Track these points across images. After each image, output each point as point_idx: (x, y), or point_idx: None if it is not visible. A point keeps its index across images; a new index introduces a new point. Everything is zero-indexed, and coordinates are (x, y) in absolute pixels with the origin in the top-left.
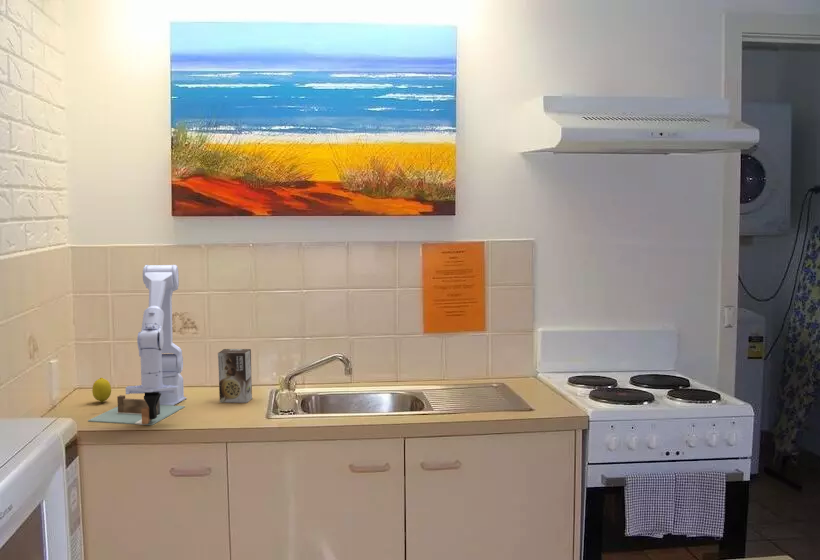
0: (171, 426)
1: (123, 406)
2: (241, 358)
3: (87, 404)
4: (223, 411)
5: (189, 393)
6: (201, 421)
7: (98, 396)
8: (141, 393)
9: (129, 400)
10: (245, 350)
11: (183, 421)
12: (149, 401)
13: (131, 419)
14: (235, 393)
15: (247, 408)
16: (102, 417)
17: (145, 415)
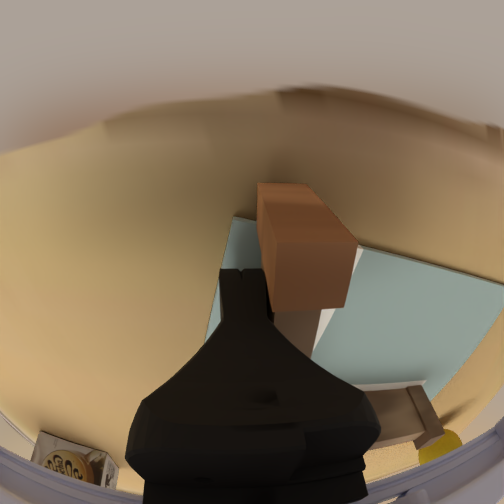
0: (85, 192)
1: (413, 407)
2: None
3: (459, 411)
4: (31, 390)
5: None
6: (5, 288)
7: (449, 435)
8: (400, 473)
9: (401, 433)
10: None
11: (72, 295)
12: (268, 376)
13: (383, 316)
14: (58, 460)
15: (4, 395)
16: (476, 326)
17: (287, 207)
